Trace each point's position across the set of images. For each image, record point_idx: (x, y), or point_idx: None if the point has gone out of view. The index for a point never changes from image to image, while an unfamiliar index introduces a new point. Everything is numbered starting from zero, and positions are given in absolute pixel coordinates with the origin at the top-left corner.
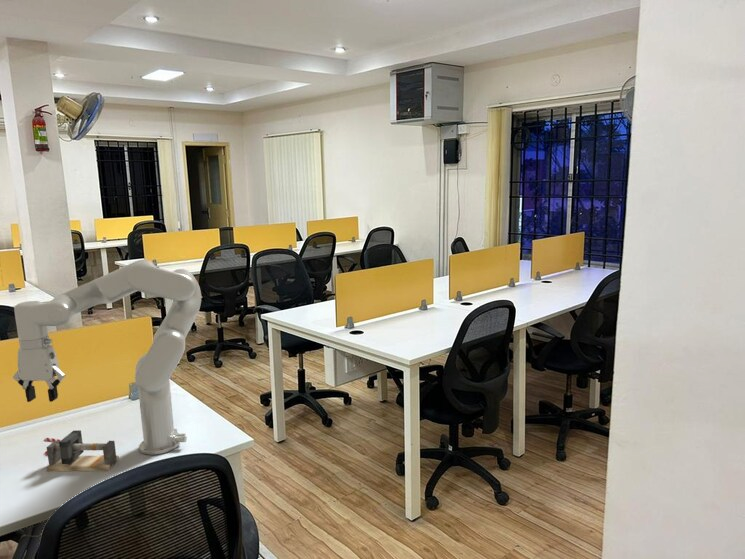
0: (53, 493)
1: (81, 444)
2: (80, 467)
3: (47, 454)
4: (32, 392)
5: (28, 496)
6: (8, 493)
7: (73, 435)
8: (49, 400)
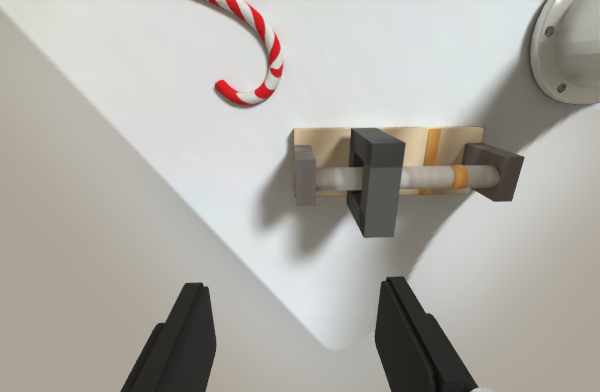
0: (371, 279)
1: (413, 184)
2: None
3: (234, 102)
4: (192, 367)
5: (321, 290)
6: (267, 282)
7: (394, 188)
8: (379, 347)
